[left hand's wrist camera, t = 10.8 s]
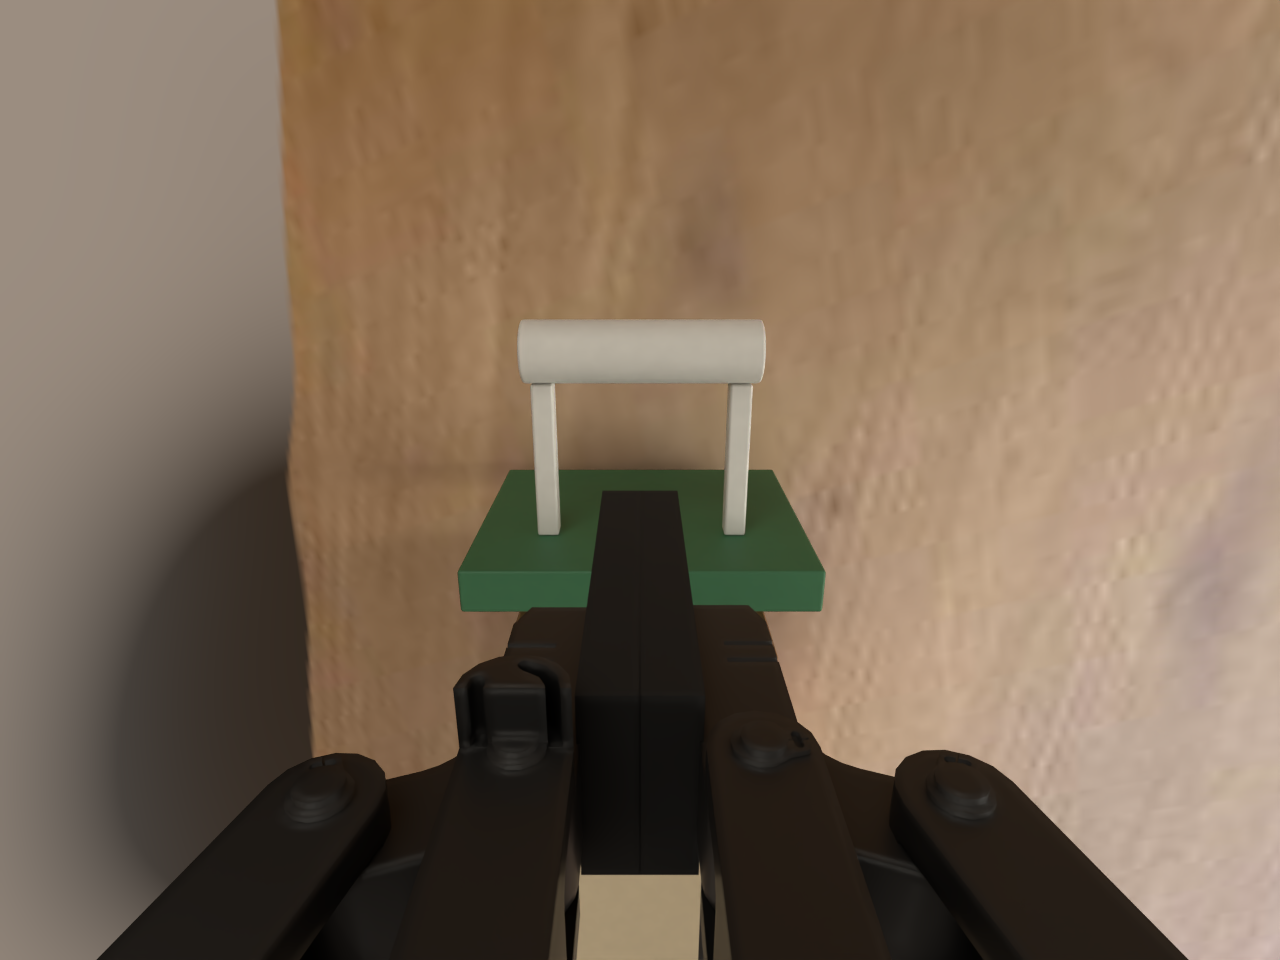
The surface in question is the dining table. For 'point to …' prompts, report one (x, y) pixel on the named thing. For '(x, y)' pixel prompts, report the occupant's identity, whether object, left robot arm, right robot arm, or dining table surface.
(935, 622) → the dining table surface
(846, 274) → the dining table surface
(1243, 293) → the dining table surface
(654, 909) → the cabinet
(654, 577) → the left robot arm
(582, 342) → the drawer
